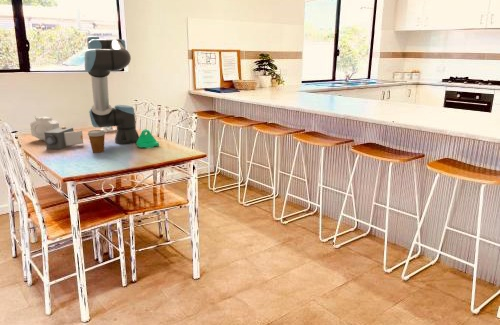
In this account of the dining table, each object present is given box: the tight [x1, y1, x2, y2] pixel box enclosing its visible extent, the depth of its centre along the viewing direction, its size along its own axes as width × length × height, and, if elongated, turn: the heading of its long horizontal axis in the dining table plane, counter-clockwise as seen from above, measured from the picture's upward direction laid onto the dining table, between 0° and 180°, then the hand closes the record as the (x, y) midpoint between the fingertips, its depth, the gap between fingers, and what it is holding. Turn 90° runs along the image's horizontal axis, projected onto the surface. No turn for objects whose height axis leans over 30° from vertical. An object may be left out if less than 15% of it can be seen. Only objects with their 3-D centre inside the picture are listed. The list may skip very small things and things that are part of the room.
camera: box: [30, 115, 60, 142], centre depth 263 cm, size 11×18×16 cm, turn 76°
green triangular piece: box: [136, 129, 160, 149], centre depth 247 cm, size 12×8×10 cm, turn 119°
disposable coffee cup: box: [87, 129, 106, 154], centre depth 235 cm, size 10×10×12 cm
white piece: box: [99, 126, 117, 133], centre depth 296 cm, size 12×11×15 cm
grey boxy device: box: [44, 126, 75, 150], centre depth 248 cm, size 19×9×11 cm, turn 173°
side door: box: [64, 130, 84, 147], centre depth 249 cm, size 11×1×8 cm, turn 128°
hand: (99, 96), depth 272 cm, fingers open, 6 cm apart
